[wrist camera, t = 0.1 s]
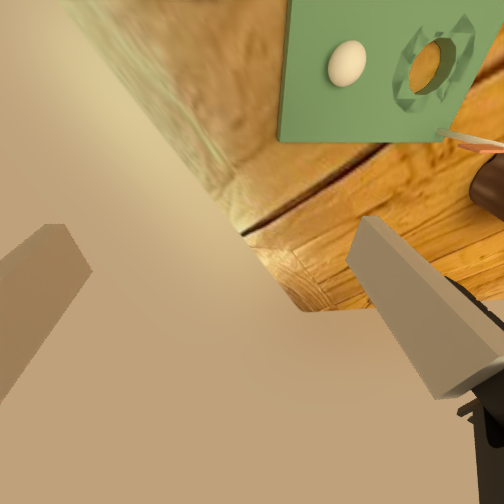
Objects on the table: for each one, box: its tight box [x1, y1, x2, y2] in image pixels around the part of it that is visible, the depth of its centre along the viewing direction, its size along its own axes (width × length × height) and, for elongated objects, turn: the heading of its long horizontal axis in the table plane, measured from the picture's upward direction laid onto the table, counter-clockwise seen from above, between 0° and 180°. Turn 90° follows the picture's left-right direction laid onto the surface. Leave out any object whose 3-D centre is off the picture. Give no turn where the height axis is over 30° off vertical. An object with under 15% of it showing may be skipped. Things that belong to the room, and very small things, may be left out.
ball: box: [328, 40, 366, 87], centre depth 25 cm, size 4×4×4 cm
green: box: [277, 0, 504, 142], centre depth 28 cm, size 25×17×2 cm
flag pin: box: [435, 128, 504, 153], centre depth 28 cm, size 1×5×14 cm, turn 89°
